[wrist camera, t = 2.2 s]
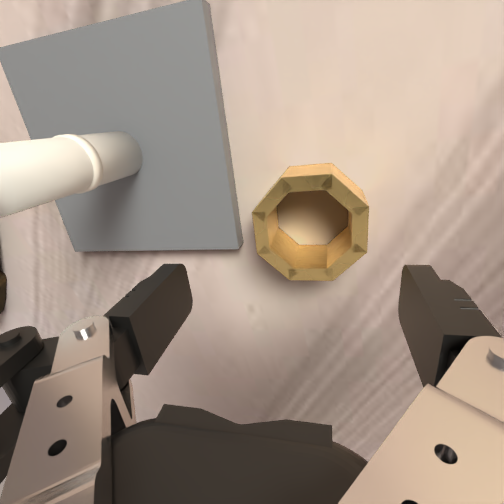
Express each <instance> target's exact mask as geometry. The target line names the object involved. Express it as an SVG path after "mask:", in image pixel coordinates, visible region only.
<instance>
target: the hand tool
mask: <svg viewBox="0 0 504 504" xmlns="http://www.w3.org/2000/svg"><path fill="white" fill-rule="evenodd" d="M6 281H7V279H6V275H5V274H4V273H3V272H2V271H1V270H0V314H1V312H2V311H3V309H4V305H5V300H6Z"/></svg>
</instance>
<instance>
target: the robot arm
mask: <svg viewBox="0 0 504 504" xmlns="http://www.w3.org/2000/svg"><path fill="white" fill-rule="evenodd" d="M192 303H193V300H192V294H191V289H190V285H189V280H188V276H187V271H186V268H185V266H184V265H183V264H163V265H162V266H161V267H160V268H159V269H158V270H157V271H156V272H154V273H153V274H152V275H151V276H150V277H148V278H146V279H145V280H143V281H141V282H139V283H138V284H137V285H136V286H135V287H134V288H133V289H132V291H130V292H129V293H128V294H126V295H125V297H123V298H122V299H121V300H120V301H119V302H118V303H117V304H116V305H115V306H113V307H112V308H111V309H110V310H109V311H108V312H107V313H106V314H105V315H104V316H91V317H87V318H84V319H81V320H79V321H77V322H75V323H73V324H71V325H70V326H68V327H67V328H66V329H65V330H64V331H63V332H62V333H61V334H60V336H59V337H53V338H47V339H41V337H40V335H39V333H38V331H37V329H36V328H35V327H31V326H26V327H20V328H16V329H13V330H10V331H8V332H5V333H3V334H1V335H0V387H3V389H4V390H5V392H6V394H7V395H8V397H9V398H10V400H11V402H12V404H11V405H10V406H9V407H8V408H7V409H6V410H5V411H4V412H3V413H2V414H1V415H0V483H1V482H2V481H3V480H4V479H5V477H6V476H7V477H6V481H5V484H4V487H3V490H2V494H1V498H0V504H503V501H504V338H502V337H501V336H500V335H499V333H498V332H497V331H496V330H495V328H494V327H493V326H492V325H491V323H490V322H489V321H488V319H487V318H486V317H485V316H484V314H483V313H482V312H481V311H480V310H478V307H477V306H476V304H475V303H474V302H473V301H471V298H470V297H469V295H468V294H467V293H466V292H465V290H464V289H463V288H461V287H459V286H458V285H456V284H455V283H453V282H451V281H450V280H440V278H439V277H438V275H437V274H436V273H435V271H434V270H433V268H432V267H431V266H430V265H404V267H403V270H402V278H401V287H400V296H399V306H398V312H399V320H400V324H401V327H402V329H403V332H404V335H405V338H406V340H407V343H408V346H409V349H410V352H411V354H412V357H413V360H414V363H415V365H416V368H417V371H418V374H419V376H420V379H421V382H422V385H423V389H422V390H421V392H420V393H419V394H418V396H417V397H416V399H415V400H414V401H413V403H412V404H411V405H410V407H409V408H408V409H407V411H406V412H405V413H404V415H403V416H402V417H401V419H400V420H399V422H398V423H397V424H396V426H395V427H394V428H393V430H392V431H391V432H390V434H389V435H388V436H387V438H386V439H385V440H384V442H383V443H382V445H381V446H380V447H379V449H378V450H377V451H376V453H375V454H374V455H373V457H372V458H371V459H370V461H369V462H367V461H366V460H365V459H364V458H362V457H361V456H359V455H358V454H356V453H355V452H353V451H352V450H350V449H348V448H346V447H344V446H342V445H340V444H338V443H336V442H333V441H332V425H324V424H316V423H308V422H301V421H293V420H279V421H270V422H261V423H253V424H243V425H241V424H236V423H233V422H231V421H229V420H226V419H224V418H222V417H219V416H217V415H215V414H212V413H210V412H208V411H205V410H203V409H199V408H191V407H183V406H175V405H167V404H164V405H163V407H162V409H161V411H160V413H159V415H158V416H157V418H154V419H150V420H145V421H142V422H139V423H136V414H135V405H134V396H133V387H132V383H131V380H130V378H131V377H132V375H133V374H141V375H149V373H150V372H151V370H152V369H153V367H154V366H155V365H156V363H157V362H158V360H159V359H160V357H161V356H162V354H163V353H164V351H165V350H166V348H167V347H168V345H169V344H170V342H171V341H172V339H173V338H174V336H175V335H176V333H177V332H178V330H179V329H180V327H181V326H182V324H183V323H184V321H185V320H186V318H187V317H188V315H189V314H190V312H191V309H192Z"/></svg>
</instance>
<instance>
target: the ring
mask: <svg viewBox="0 0 504 504" xmlns="http://www.w3.org/2000/svg"><path fill="white" fill-rule="evenodd" d="M316 190H326V191H327V192H328V193H329V194H331V195H332V196H333V197H334V198H335V199H336V200H337V201H338V202H340V203H341V204H342V205H343V206H344V207H345V208H346V209H348V226H347V227H346V228H345V229H344V230H343V231H342V232H341V233H339V234H338V235H337V236H336V237H335V238H334V239H333V240H332V241H331V242H330V243H329V244H328V245H298V244H297V243H296V242H295V241H294V240H293V239H291V238H290V237H289V236H288V235H287V234H285V233H284V232H283V231H282V230H281V229H280V228H279V226H278V215H277V205H278V204H279V203H280V201H281V200H282V199H283V198H284V197H285V196H286V195H287V194H288V192H301V191H316ZM252 216H253V224H254V232H255V241H256V249H257V254H258V255H259V256H261V257H262V258H263V259H264V260H266V261H267V262H268V263H269V264H270V265H272V266H273V267H274V268H275V269H276V270H278V271H279V272H280V273H281V274H282V275H284V276H285V277H286V278H287V279H288V280H313V281H333V280H334V279H336V278H337V277H338V276H339V275H340V274H342V273H343V272H344V271H345V270H346V269H348V268H349V267H350V266H351V265H352V264H354V263H355V262H356V261H357V260H358V259H360V258H361V257H362V256H363V255H364V254H366V253H367V242H368V217H369V206H368V203H367V201H366V198H365V196H364V193H363V191H362V190H361V189H360V188H359V187H358V186H357V185H356V184H354V183H353V182H352V181H351V180H350V179H349V178H348V177H347V176H345V175H344V174H343V173H342V172H341V171H340V170H339V169H338V168H337V167H335V166H334V165H333V164H332V163H325V164H313V165H302V166H290V167H288V169H287V170H286V171H285V172H284V173H283V175H282V176H281V177H280V178H279V179H278V181H277V182H276V183H275V184H274V185H273V187H272V188H271V189H270V190H269V191H268V193H267V194H266V195H265V196H264V197H263V199H262V200H261V201H260V202H259V204H258V205H257V206H256V208H255V209H254V210H253V212H252Z"/></svg>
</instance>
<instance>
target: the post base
mask: <svg viewBox="0 0 504 504" xmlns="http://www.w3.org/2000/svg"><path fill="white" fill-rule="evenodd" d="M0 62H1V64H2V67H3V69H4V72H5V74H6V77H7V80H8V82H9V85H10V87H11V90H12V92H13V95H14V97H15V100H16V102H17V105H18V108H19V110H20V113H21V115H22V118H23V120H24V123H25V125H26V128H27V130H28V133H29V136H30V138H31V140H25V141H15V142H5V143H0V217H5V216H8V215H11V214H14V213H17V212H20V211H23V210H26V209H30V208H33V207H36V206H39V205H42V204H45V203H48V202H51V201H54V200H55V202H56V204H57V207H58V209H59V212H60V214H61V217H62V220H63V222H64V225H65V227H66V230H67V232H68V235H69V237H70V240H71V242H72V245H73V248H74V250H75V252H79V251H147V250H214V249H239V248H240V247H241V245H242V243H243V237H242V230H241V223H240V216H239V209H238V202H237V195H236V188H235V181H234V174H233V167H232V159H231V152H230V145H229V138H228V131H227V124H226V117H225V110H224V103H223V96H222V89H221V82H220V75H219V67H218V60H217V53H216V46H215V39H214V32H213V25H212V18H211V11H210V4H209V3H208V2H207V1H205V0H186V1H182V2H179V3H175V4H171V5H167V6H163V7H159V8H155V9H151V10H147V11H143V12H139V13H135V14H131V15H127V16H123V17H119V18H115V19H111V20H107V21H103V22H99V23H95V24H91V25H87V26H84V27H80V28H76V29H72V30H68V31H64V32H60V33H56V34H52V35H48V36H44V37H40V38H36V39H32V40H28V41H24V42H20V43H16V44H12V45H8V46H4V47H0Z"/></svg>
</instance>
